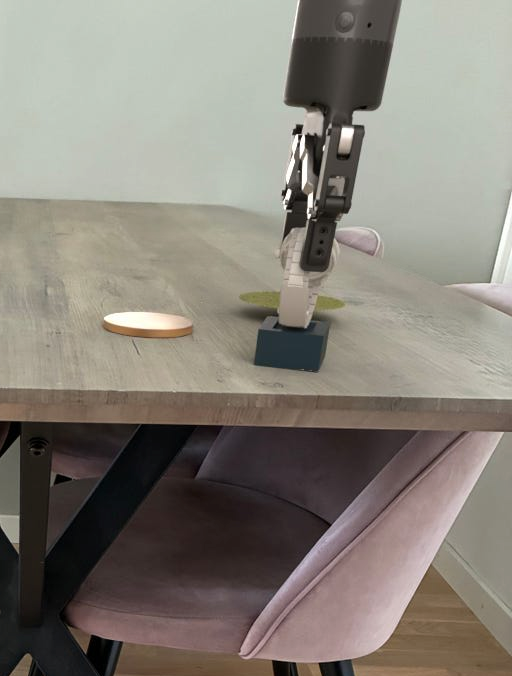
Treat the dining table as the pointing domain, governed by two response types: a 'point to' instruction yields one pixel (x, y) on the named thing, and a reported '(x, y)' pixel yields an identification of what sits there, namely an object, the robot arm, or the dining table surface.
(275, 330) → the watch
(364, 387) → the dining table surface
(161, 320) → the coaster
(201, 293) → the dining table surface
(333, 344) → the dining table surface
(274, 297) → the olive green disc
